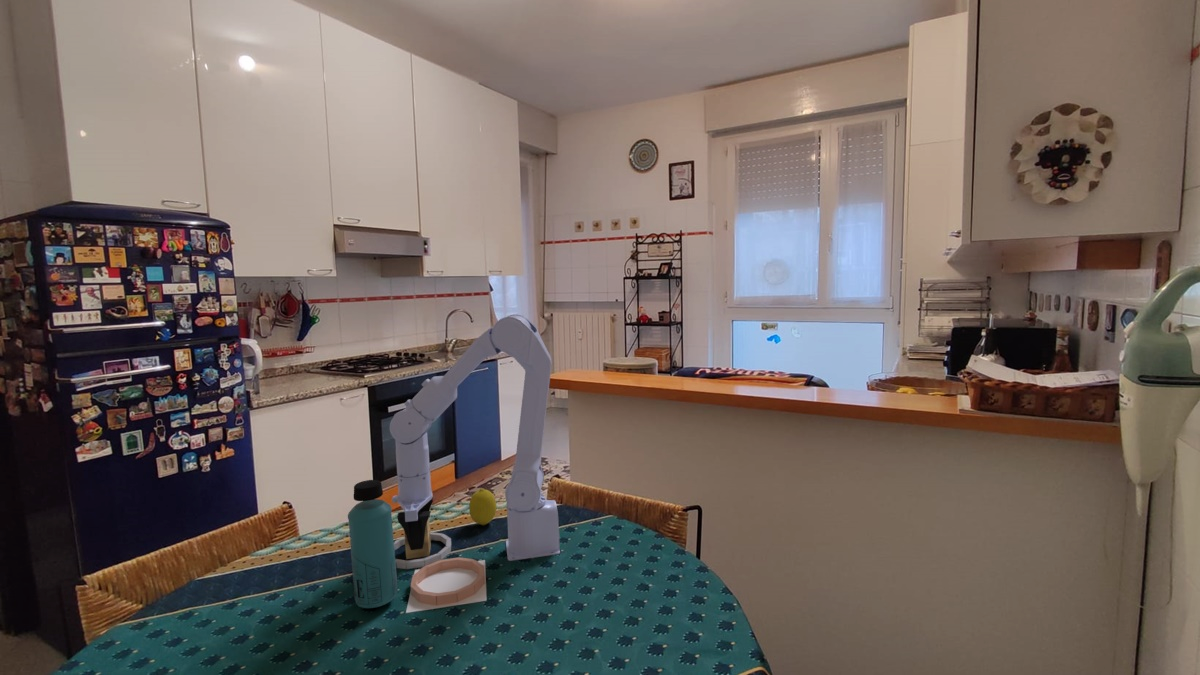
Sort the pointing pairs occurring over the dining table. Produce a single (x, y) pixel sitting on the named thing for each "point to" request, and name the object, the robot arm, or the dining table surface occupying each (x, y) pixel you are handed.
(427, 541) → the ochre block
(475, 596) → the card
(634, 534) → the dining table surface
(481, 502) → the lemon
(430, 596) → the ring
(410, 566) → the ring
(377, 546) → the beverage bottle
